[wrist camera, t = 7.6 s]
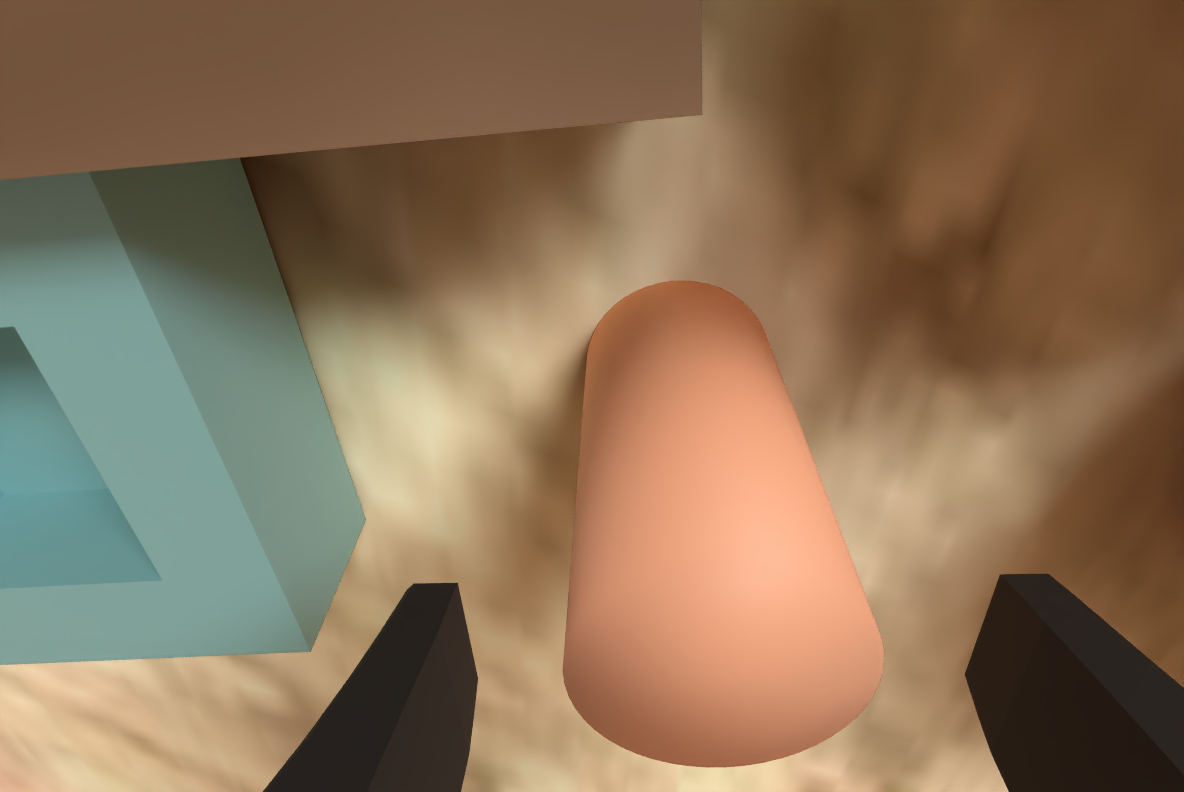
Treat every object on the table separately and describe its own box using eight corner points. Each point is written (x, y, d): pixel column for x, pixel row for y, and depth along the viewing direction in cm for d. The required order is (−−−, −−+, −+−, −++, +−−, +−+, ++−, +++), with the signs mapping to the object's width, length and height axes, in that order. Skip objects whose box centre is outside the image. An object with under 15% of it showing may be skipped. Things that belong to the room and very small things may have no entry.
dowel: (574, 291, 15) (538, 572, 8) (769, 271, 15) (897, 545, 8) (598, 447, 17) (585, 773, 10) (769, 432, 17) (872, 760, 10)
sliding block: (-287, 153, 14) (-578, 225, 10) (220, 103, 13) (84, 163, 10) (-4, 540, 19) (-137, 670, 16) (365, 519, 18) (310, 651, 15)
